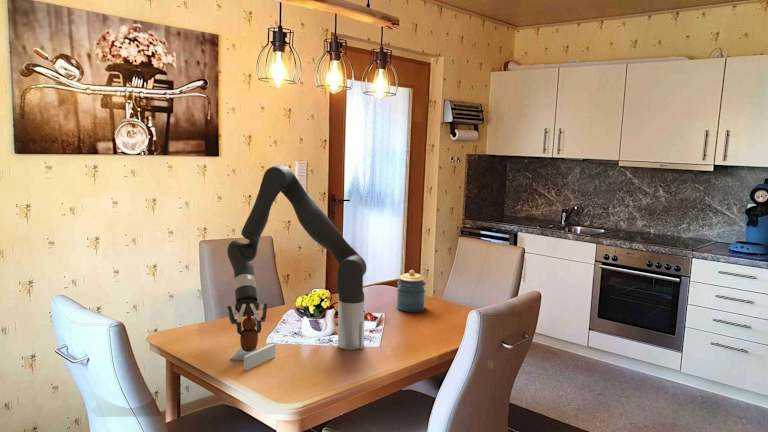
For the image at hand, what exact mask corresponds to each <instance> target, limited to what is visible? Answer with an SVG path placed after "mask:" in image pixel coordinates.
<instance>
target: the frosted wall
mask: <svg viewBox="0 0 768 432" xmlns="http://www.w3.org/2000/svg"><path fill="white" fill-rule="evenodd" d="M275 357H276V343H271V344H268V345H266V346H263V347H262V348H259V350H257V351H254V352H252V353H250V354H248V355H245V356H244V361H243V370H244V371H249V370H251V369H252V368H254V367H257V366H259V365H261V364H263V363H265V362H267V361H270V360H271V359H274V358H275Z"/></svg>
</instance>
